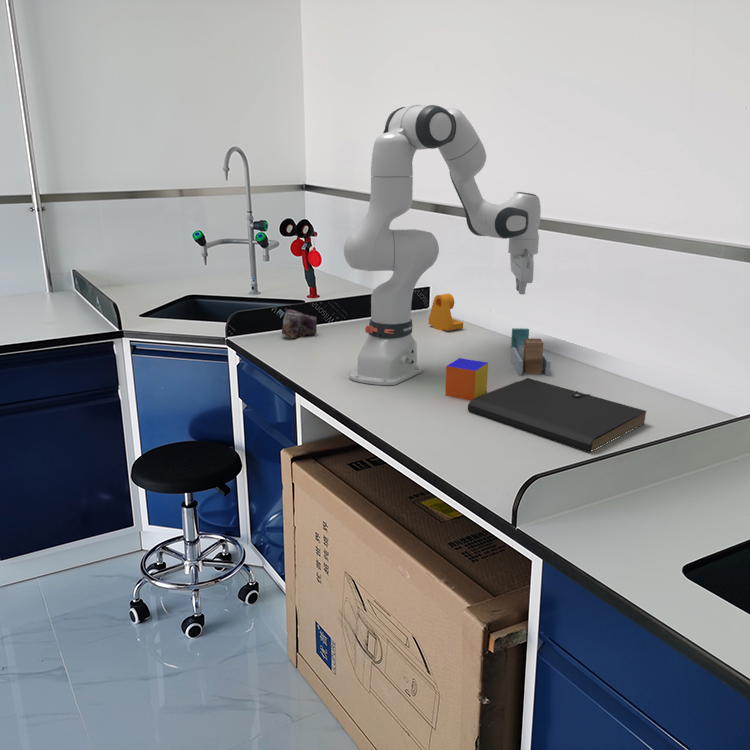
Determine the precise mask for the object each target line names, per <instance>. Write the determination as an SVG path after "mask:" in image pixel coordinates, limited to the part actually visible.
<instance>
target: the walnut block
mask: <svg viewBox="0 0 750 750" xmlns="http://www.w3.org/2000/svg"><path fill="white" fill-rule="evenodd" d="M543 341H544V340H542V339H541V338H529V339H527V338H524V353H523V359H522V360H523V371H522V372H523V374H525V375H542V371H543V370H542V358H543V351H544V342H543Z"/></svg>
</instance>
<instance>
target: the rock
mask: <svg viewBox="0 0 750 750" xmlns="http://www.w3.org/2000/svg"><path fill="white" fill-rule="evenodd" d="M281 329H282V330H281V335H285V336H287V337H289V338H291V339H296V338H298V337H305V336H313V335H316V334H317V332H318V331H317V316H314V315H309V314H306V313H302V312H300V311H297V310H294V309H287V310H286V311H285V312H284V315H283V319H282V328H281Z"/></svg>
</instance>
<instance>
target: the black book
mask: <svg viewBox="0 0 750 750" xmlns="http://www.w3.org/2000/svg"><path fill="white" fill-rule="evenodd" d="M467 411H468V412H470V413H473V414H476V415H477V416H478V415H479V416H481V417H485V418H487V419H491V420H493V421H496V422H498V423H501V424H506V425H508V426H510V427H513V428H516V429H520V430H522V431H526V432H529V433H531V434H534V435H537V436H540V437H543V438H546V439H549V440H551V441H554V440H555V442H557V441H558V443H560V442H561V443H560V444H563V443H564V445H566V444H567V446H569V445H570V446H569V447H572V446H574V447H573V448H575V447H576V449H578V448H579V449H578V450H581V449H582V450H581V451H584V450H586V451H585V452H587V451H589V452H588V453H590V452H591V451H590V449H591V450H594V449H596V448H598V447H600V446H602V445H604V444H606V443H607V442H609V441H611V440H613V439H615V438H617V437H619V436H621V435H623V434H625V433H626V432H628V431H630V430H632V429H634V430H636V429H637V428H636V427H638V426H640V425H642V424H644V425H645V423H646V414H647V413H648V412H647V410H644V409H641V408H637V407H633V406H629V405H626V404H622V403H619V402H615V401H613V400H612V401H611V400H608V399H605V398H601V397H597V396H595V395H591V394H587V393H583V392H579V391H578V390H577V391H576V390H572V389H568V388H566V387H561V386H559V385H554V384H551V383H548V382H544V381H541V380H537V379H532V378H529V377H527V378H524V379H522V380H519V381H514V382H512V383H509V384H508V385H505V386H502V387H500V388H496V389H495V390H491V391H489V392H486V393H484V394H483V395H481V396H479V397H476V398H474V399H472V400H469V403H468V405H467ZM642 426H643V425H642ZM640 427H641V426H640ZM635 428H636V429H635ZM638 428H639V427H638ZM625 435H626V434H625ZM623 436H624V435H623ZM621 437H622V436H621ZM619 438H620V437H619ZM606 445H607V444H606ZM604 446H605V445H604ZM602 447H603V446H602ZM600 448H601V447H600ZM596 450H597V449H596ZM594 451H595V450H594Z"/></svg>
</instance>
